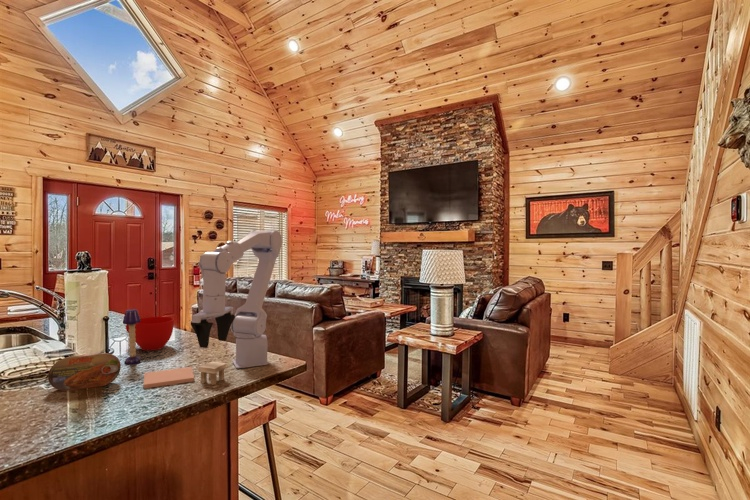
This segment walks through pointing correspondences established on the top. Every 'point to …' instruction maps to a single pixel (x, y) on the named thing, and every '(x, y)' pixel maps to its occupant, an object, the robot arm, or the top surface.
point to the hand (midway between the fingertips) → (213, 343)
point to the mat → (168, 377)
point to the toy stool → (212, 371)
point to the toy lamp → (132, 335)
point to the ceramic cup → (153, 332)
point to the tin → (84, 371)
